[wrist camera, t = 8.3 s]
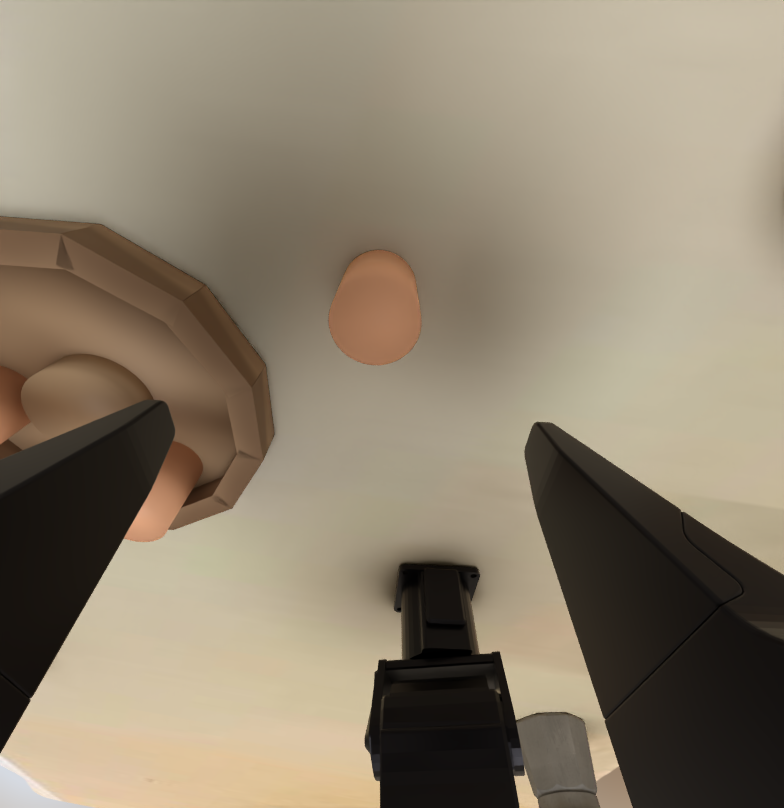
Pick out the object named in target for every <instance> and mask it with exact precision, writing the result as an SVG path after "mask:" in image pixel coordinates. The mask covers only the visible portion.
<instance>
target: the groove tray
mask: <svg viewBox="0 0 784 808" xmlns="http://www.w3.org/2000/svg"><path fill="white" fill-rule="evenodd" d="M0 366H3V367H6V368H9V369H11V370H14V371H16V372H17V373H19V374H21V375H22V376H24V377H25V378H27V379H28V380H27V381H26V382H25V383H24V385H23V387H22V390H21V402H22V406H23V409H24V411H25V413H26V415H27V417H28V418H29V420H30V421H31V422H30V423H29V424H27V425H26V426H25V427H23V428H22V429H21V430H19V431H18V432H17V433H15V434H14V435H13V436H11V437H10V438H8V439H7V440H6V441H4V442H3V443H2V444H0V459H3V458H5V457H8V456H10V455H13V454H15V453H17V452H20V451H22V450H25V449H27V448H30V447H32V446H34V445H37V444H39V443H42V442H44V441H47V440H49V439H51V438H54V437H56V436H59V435H61V434H64V433H66V432H68V431H71V430H73V429H76V428H78V427H80V426H83V425H85V424H88V423H90V422H93V421H95V420H97V419H100V418H102V417H105V416H107V415H110V414H112V413H114V412H117V411H119V410H122V409H124V408H127V407H129V406H131V405H134V404H136V403H139V402H141V401H144V400H163V401H165V402H166V403H167V405H168V407H169V410H170V413H171V416H172V419H173V423H174V426H175V437H174V439H173V441H175V442H179V443H181V444H183V445H185V446H187V447H189V448H190V449H192V450H193V451H194V452H195V453H196V454H197V455H198V456H199V458H200V459H201V461H202V464H203V472H202V474H201V476H200V478H199V479H198V481H197V483H196V484H195V486H194V488H193V489H192V491H191V492H190V494H189V496H188V497H187V499H186V501H185V502H184V504H183V506H182V507H181V509H180V510H179V512H178V514H177V515H176V517H175V519H174V520H173V522H172V524H171V525H170V527H169V528H168V530H174V529H177V528H180V527H183V526H185V525H188V524H191V523H194V522H196V521H199V520H202V519H204V518H207V517H210V516H213V515H215V514H218V513H221V512H223V511H226V510H229V509H232V508H233V506H234V505H235V503H236V501H237V500H238V498H239V497H240V495H241V494H242V492H243V491H244V489H245V488H246V486H247V485H248V483H249V481H250V480H251V478H252V477H253V475H254V474H255V472H256V471H257V469H258V468H259V466H260V465H261V463H262V461H263V460H264V457H265V455H266V453H267V450H268V448H269V446H270V443H271V441H272V439H273V436H274V426H273V419H272V411H271V403H270V395H269V387H268V379H267V372H266V365H265V363H264V362H263V361H262V359H261V358H260V357H259V355H258V354H257V353H256V351H255V350H254V349H253V347H252V346H251V345H250V343H249V342H248V341H247V339H246V338H245V337H244V335H243V334H242V333H241V331H240V330H239V329H238V327H237V326H236V325H235V323H234V322H233V321H232V319H231V318H230V317H229V315H228V314H227V313H226V311H225V310H224V309H223V307H222V306H221V305H220V303H219V302H218V301H217V299H216V298H215V297H214V295H213V294H212V293H211V291H210V290H209V289H208V287H207V286H205V284H203V283H201V282H199V281H198V280H196V279H194V278H193V277H191V276H189V275H187V274H186V273H184V272H182V271H180V270H179V269H177V268H175V267H174V266H172V265H170V264H168V263H167V262H165V261H163V260H161V259H160V258H158V257H156V256H155V255H153V254H151V253H149V252H148V251H146V250H144V249H142V248H141V247H139V246H137V245H136V244H134V243H132V242H130V241H129V240H127V239H125V238H123V237H122V236H120V235H118V234H117V233H115V232H113V231H111V230H110V229H108V228H106V227H104V226H103V225H101V224H92V223H79V222H66V221H53V220H40V219H27V218H14V217H1V216H0Z"/></svg>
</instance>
